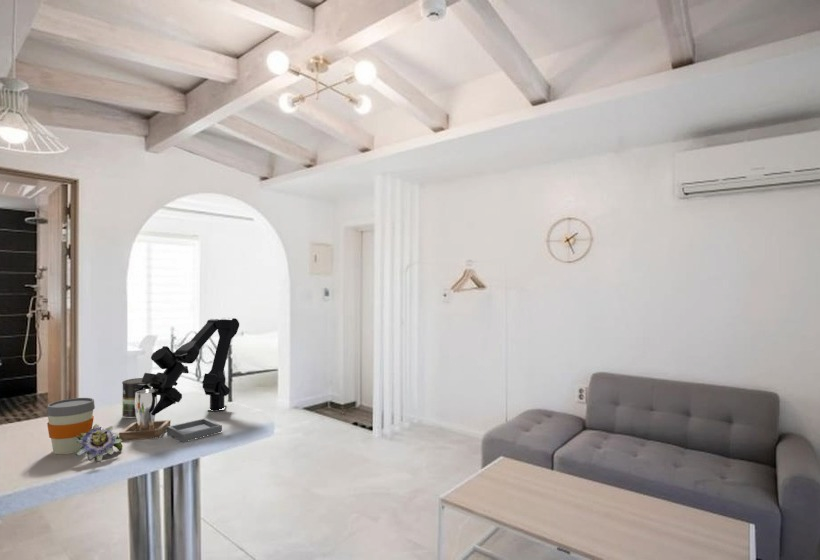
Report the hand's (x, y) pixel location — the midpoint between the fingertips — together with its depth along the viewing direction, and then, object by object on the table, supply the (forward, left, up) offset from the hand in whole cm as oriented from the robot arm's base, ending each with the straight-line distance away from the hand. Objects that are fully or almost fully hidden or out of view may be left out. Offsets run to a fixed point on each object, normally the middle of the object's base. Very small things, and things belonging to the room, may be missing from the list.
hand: (143, 413), depth 160 cm
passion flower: (+20, -5, -8) cm, 22 cm away
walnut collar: (-1, +1, -7) cm, 8 cm away
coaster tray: (+2, +18, -7) cm, 19 cm away
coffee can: (-26, -11, -8) cm, 29 cm away
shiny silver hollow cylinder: (-1, +1, -8) cm, 8 cm away
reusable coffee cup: (+11, -17, -8) cm, 22 cm away
